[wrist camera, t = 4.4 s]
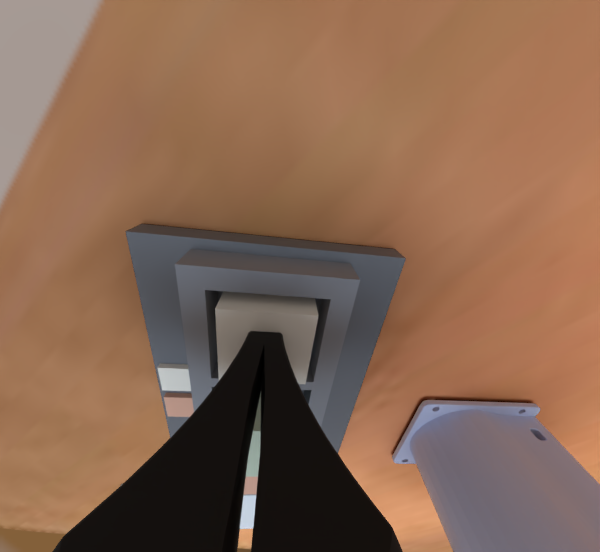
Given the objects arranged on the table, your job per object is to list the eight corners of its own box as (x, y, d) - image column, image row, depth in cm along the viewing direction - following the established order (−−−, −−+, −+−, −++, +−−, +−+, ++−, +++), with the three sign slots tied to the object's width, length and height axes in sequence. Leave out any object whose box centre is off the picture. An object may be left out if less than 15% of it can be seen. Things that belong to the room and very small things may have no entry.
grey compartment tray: (394, 249, 12) (423, 273, 9) (328, 455, 20) (334, 497, 18) (141, 223, 11) (97, 244, 8) (184, 454, 19) (168, 499, 17)
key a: (313, 290, 11) (318, 315, 9) (302, 352, 13) (305, 384, 11) (226, 283, 11) (215, 308, 9) (228, 349, 12) (218, 381, 11)
